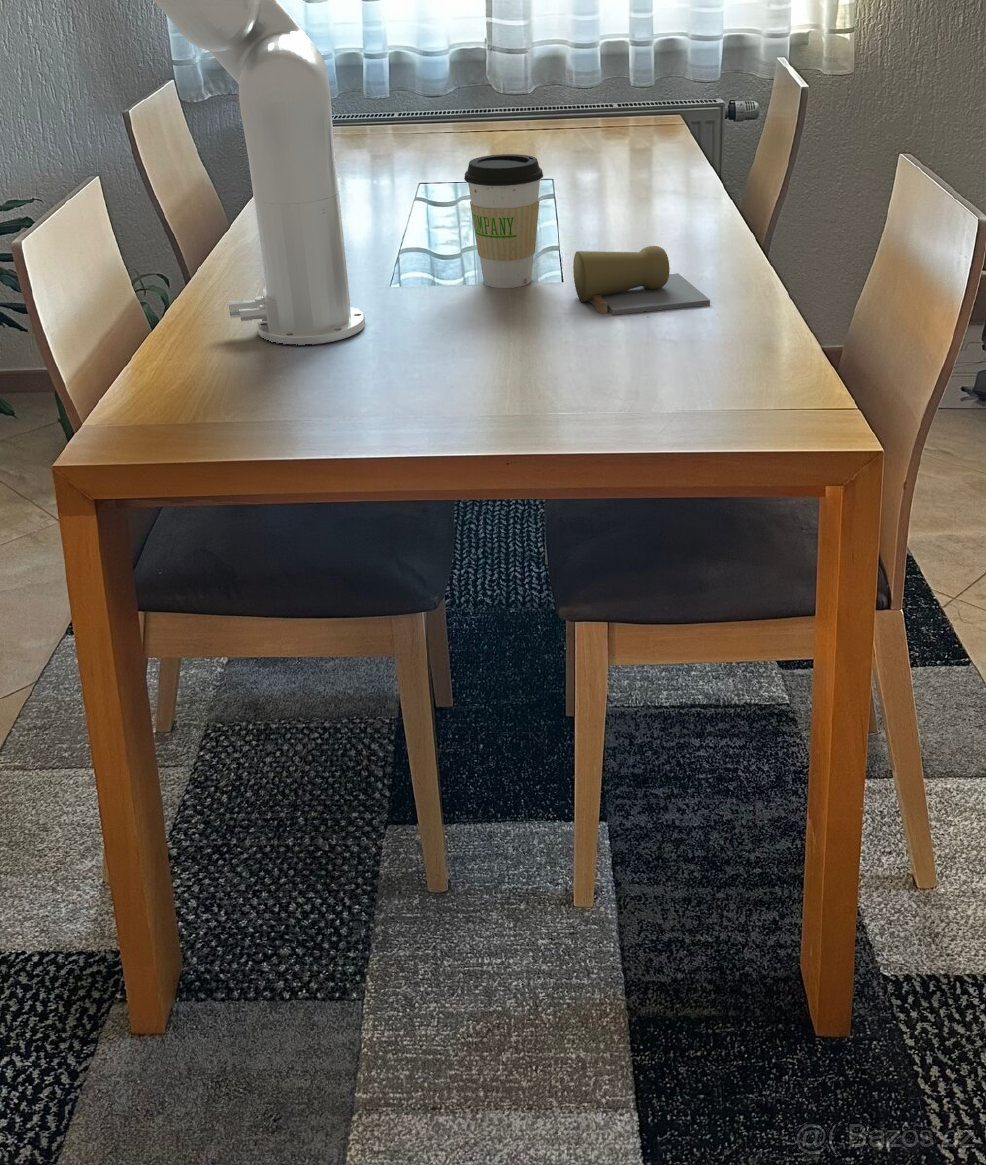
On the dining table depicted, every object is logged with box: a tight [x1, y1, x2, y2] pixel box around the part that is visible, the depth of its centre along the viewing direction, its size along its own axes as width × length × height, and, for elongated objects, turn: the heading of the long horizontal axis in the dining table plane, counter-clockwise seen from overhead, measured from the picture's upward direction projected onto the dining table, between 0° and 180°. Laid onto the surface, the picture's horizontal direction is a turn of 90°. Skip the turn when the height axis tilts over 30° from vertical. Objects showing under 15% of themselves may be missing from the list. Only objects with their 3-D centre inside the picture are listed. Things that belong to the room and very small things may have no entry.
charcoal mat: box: [602, 272, 711, 316], centre depth 158 cm, size 12×12×1 cm
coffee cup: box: [463, 153, 544, 289], centre depth 162 cm, size 10×10×15 cm
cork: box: [572, 245, 671, 303], centre depth 157 cm, size 6×6×11 cm
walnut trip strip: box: [588, 295, 608, 314], centre depth 157 cm, size 1×10×1 cm, turn 11°
